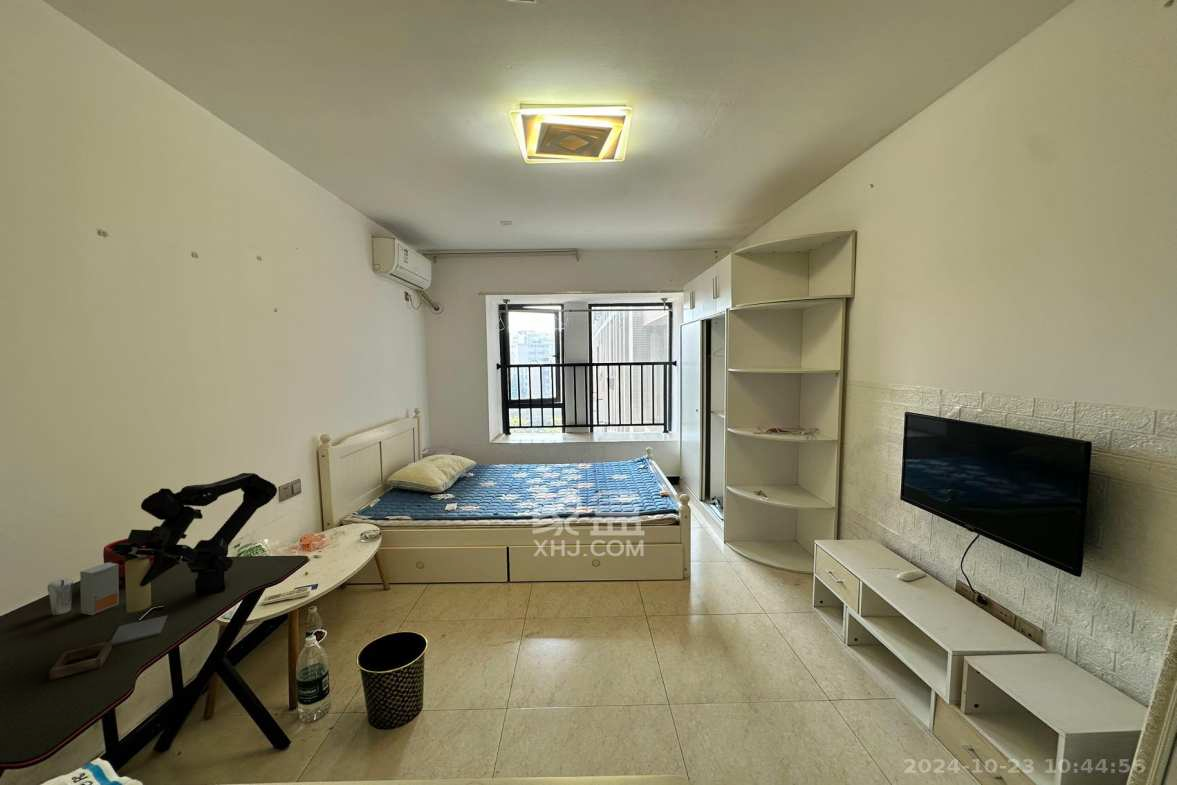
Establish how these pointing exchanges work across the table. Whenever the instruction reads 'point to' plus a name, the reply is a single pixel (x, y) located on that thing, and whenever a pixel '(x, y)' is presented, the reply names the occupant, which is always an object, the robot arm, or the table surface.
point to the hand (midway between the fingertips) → (132, 585)
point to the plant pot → (119, 558)
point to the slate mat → (138, 630)
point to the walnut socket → (63, 670)
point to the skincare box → (99, 588)
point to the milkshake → (60, 595)
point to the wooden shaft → (137, 584)
